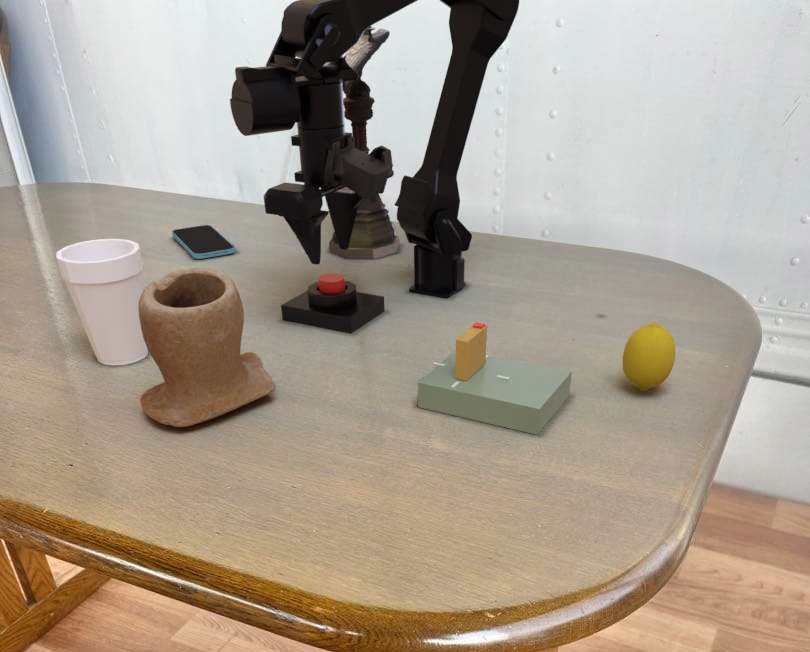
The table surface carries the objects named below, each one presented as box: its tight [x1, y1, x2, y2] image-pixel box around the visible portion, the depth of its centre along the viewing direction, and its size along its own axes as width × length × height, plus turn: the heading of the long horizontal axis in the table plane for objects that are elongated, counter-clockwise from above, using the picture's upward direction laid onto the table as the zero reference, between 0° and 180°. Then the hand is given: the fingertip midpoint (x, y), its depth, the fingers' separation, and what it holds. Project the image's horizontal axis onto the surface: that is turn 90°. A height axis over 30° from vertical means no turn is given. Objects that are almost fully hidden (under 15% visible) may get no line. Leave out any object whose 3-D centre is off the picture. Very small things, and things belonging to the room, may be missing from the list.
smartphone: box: [171, 224, 236, 260], centre depth 139 cm, size 7×1×15 cm
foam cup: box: [55, 238, 149, 366], centre depth 98 cm, size 10×9×13 cm
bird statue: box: [295, 25, 400, 260], centre depth 124 cm, size 17×13×35 cm
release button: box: [317, 272, 346, 293], centre depth 109 cm, size 4×4×2 cm
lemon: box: [621, 321, 676, 392], centre depth 90 cm, size 6×6×8 cm
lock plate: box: [417, 350, 573, 436], centre depth 90 cm, size 15×10×3 cm
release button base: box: [280, 280, 385, 335], centre depth 111 cm, size 11×9×4 cm
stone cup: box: [138, 267, 276, 428], centre depth 86 cm, size 15×12×15 cm
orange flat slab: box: [455, 321, 488, 381], centre depth 88 cm, size 5×1×5 cm, turn 151°
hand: (330, 256), depth 107 cm, fingers open, 7 cm apart
